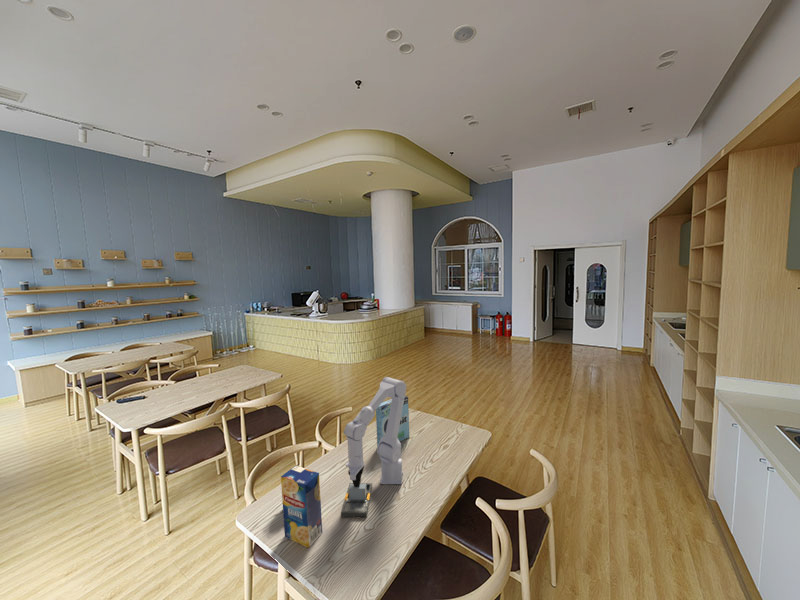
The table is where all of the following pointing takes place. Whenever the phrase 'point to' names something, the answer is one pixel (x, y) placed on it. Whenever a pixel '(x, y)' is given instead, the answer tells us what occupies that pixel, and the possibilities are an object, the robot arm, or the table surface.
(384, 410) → the gum box
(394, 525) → the table surface
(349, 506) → the rack
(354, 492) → the block
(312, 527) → the beverage box
